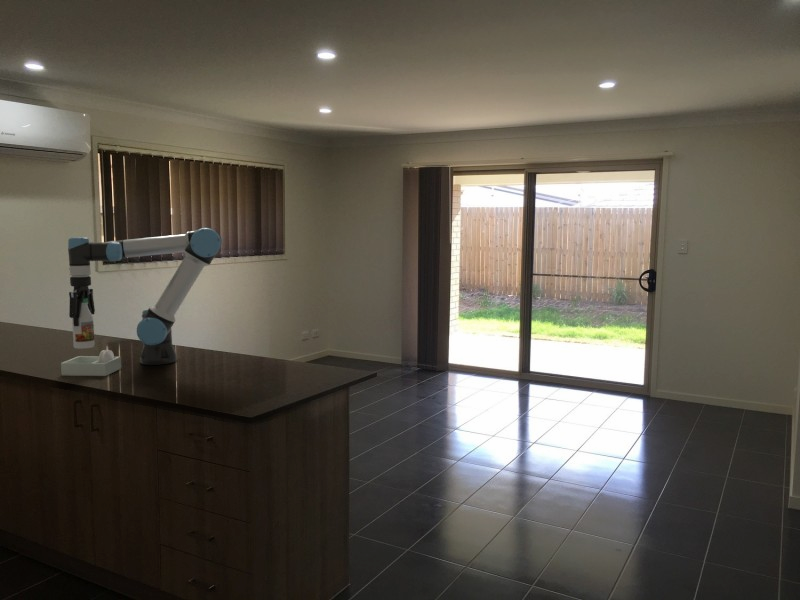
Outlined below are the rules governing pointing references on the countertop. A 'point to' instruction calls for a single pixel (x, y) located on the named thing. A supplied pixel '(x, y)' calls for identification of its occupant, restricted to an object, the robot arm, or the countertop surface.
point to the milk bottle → (84, 328)
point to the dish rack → (92, 365)
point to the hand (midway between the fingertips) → (83, 332)
